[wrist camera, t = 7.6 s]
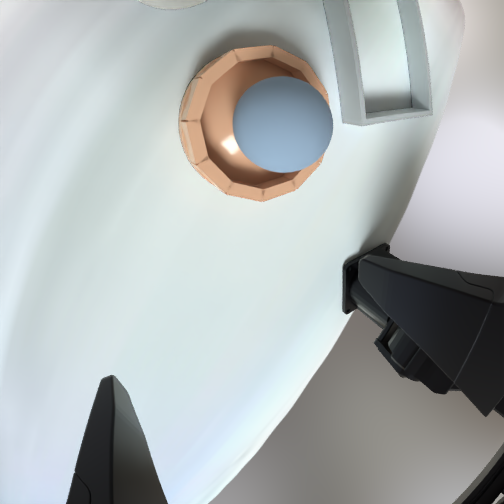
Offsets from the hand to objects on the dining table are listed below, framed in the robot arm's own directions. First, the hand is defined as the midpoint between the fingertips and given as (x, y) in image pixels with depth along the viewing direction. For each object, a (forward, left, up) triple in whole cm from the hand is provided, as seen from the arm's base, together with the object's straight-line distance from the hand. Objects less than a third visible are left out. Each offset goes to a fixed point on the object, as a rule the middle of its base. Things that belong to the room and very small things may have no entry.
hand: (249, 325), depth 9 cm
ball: (+4, -7, -11) cm, 14 cm away
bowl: (+4, -7, -12) cm, 14 cm away
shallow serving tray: (+10, -20, -12) cm, 25 cm away
